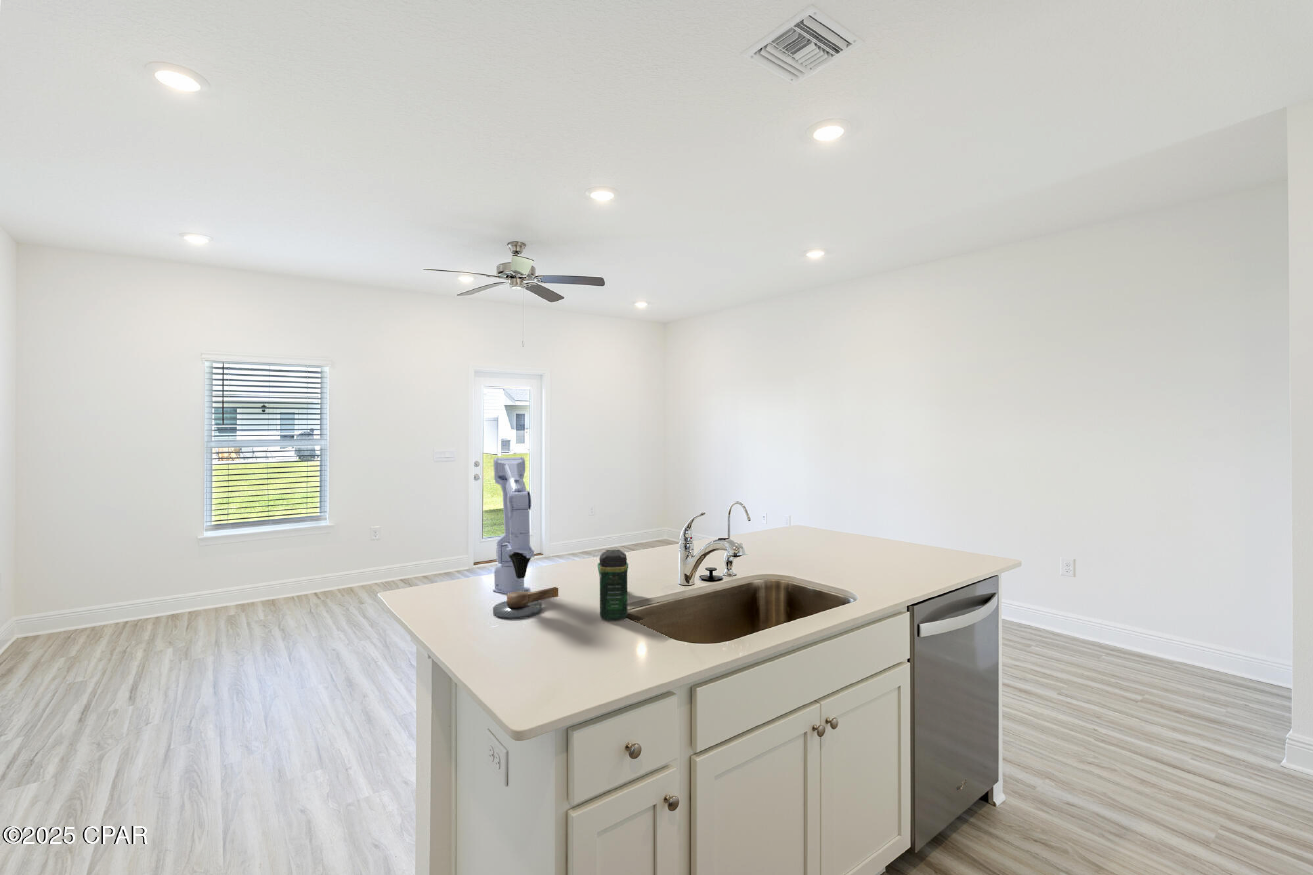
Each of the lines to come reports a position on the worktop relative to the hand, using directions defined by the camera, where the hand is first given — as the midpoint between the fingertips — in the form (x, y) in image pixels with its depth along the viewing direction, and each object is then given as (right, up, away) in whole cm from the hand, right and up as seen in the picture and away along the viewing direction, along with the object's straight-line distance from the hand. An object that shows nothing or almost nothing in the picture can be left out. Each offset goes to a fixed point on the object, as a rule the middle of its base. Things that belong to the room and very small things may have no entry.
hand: (520, 577), depth 176 cm
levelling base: (0, -9, -2) cm, 10 cm away
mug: (+26, -9, +15) cm, 31 cm away
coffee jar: (+28, -9, -7) cm, 31 cm away
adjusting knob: (+3, -7, +1) cm, 8 cm away
